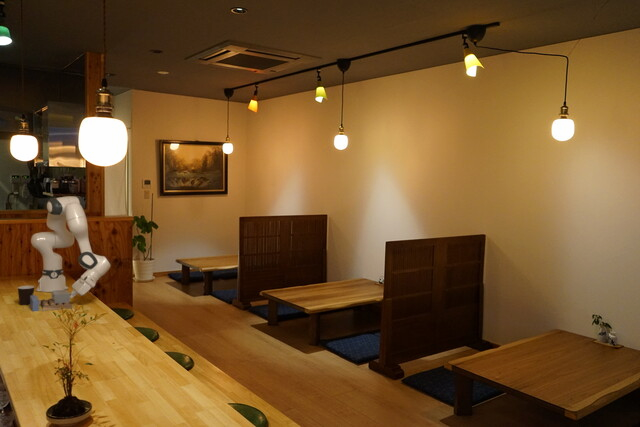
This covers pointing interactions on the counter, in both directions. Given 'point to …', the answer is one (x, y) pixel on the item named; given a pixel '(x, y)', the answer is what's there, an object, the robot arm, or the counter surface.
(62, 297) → the slab
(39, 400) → the counter surface
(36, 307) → the stop block
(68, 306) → the roller bed
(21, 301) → the coffee mug
